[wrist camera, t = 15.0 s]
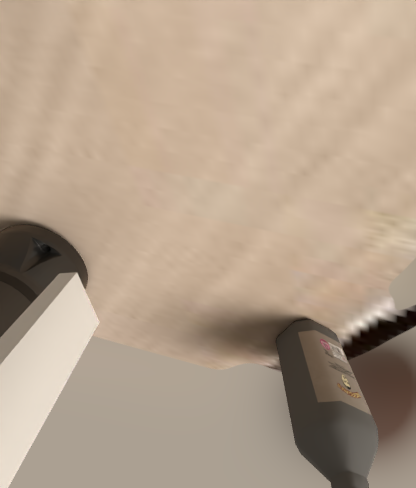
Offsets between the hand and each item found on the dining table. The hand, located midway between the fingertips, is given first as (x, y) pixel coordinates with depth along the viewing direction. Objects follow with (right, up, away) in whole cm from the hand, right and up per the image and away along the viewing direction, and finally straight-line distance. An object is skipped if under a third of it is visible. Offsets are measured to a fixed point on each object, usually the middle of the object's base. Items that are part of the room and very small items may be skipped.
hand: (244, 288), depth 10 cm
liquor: (+16, -15, +39) cm, 44 cm away
